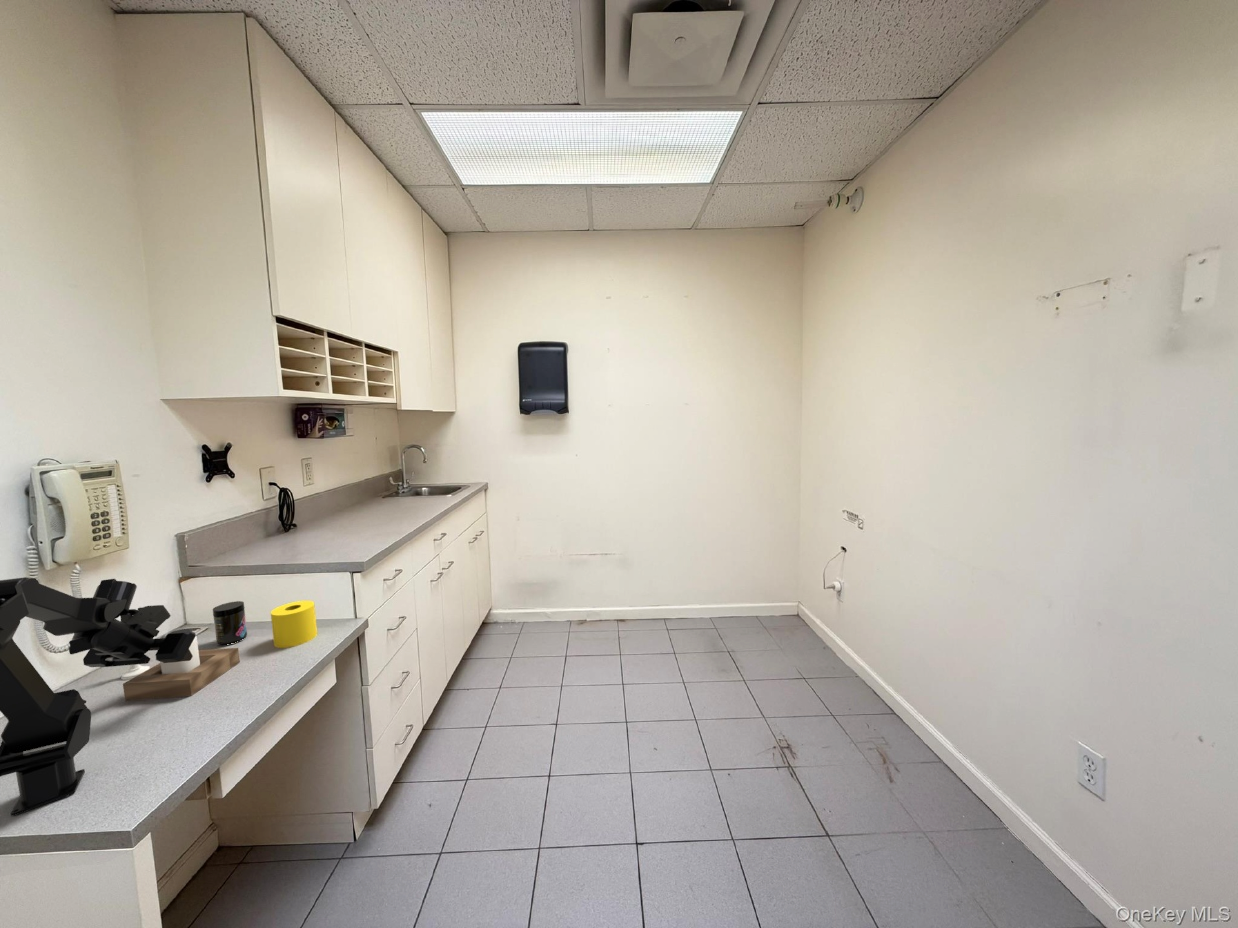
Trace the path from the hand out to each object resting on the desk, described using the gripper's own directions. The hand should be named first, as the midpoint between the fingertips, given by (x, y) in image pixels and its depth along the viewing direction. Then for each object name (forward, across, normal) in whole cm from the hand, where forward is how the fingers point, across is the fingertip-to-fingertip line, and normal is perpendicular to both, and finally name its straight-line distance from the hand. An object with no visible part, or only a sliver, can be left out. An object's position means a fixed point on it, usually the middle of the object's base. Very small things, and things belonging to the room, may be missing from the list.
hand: (169, 659), depth 101 cm
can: (+8, +1, +3) cm, 8 cm away
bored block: (+8, 0, +2) cm, 8 cm away
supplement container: (+22, +5, -12) cm, 25 cm away
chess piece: (+11, +16, -1) cm, 19 cm away
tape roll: (+21, -13, -11) cm, 27 cm away
